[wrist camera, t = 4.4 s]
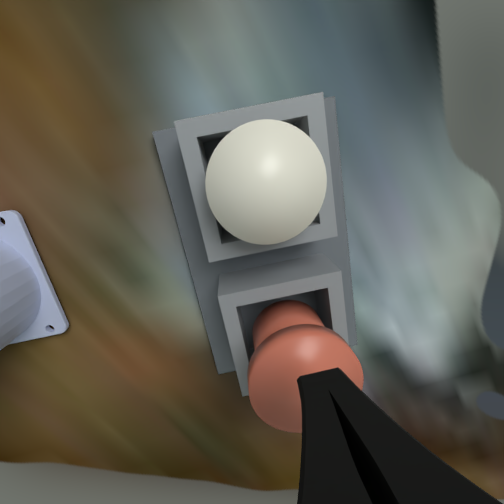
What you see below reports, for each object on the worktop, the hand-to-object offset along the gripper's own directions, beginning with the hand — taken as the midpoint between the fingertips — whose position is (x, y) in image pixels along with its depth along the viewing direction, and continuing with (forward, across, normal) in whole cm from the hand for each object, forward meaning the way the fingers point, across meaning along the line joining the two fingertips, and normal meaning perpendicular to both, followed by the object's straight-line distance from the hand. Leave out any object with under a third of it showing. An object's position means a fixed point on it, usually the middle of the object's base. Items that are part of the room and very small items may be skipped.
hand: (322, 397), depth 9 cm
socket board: (+10, 0, -2) cm, 11 cm away
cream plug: (+9, 0, -6) cm, 11 cm away
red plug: (+7, 0, +2) cm, 8 cm away
